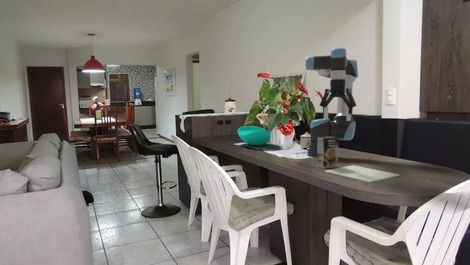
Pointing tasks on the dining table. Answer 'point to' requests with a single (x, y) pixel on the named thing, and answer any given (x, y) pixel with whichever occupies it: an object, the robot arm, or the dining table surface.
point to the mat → (362, 173)
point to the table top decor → (254, 135)
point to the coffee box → (327, 152)
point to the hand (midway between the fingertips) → (336, 120)
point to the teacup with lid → (305, 140)
